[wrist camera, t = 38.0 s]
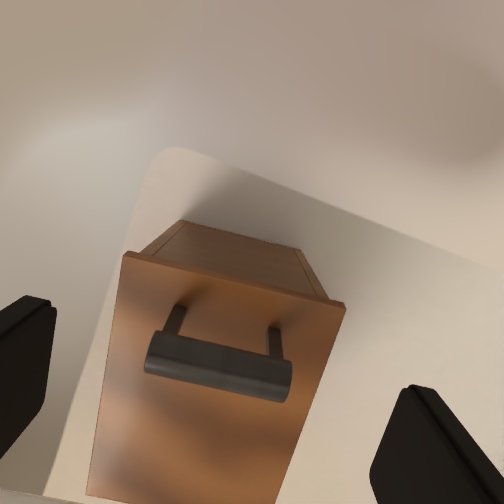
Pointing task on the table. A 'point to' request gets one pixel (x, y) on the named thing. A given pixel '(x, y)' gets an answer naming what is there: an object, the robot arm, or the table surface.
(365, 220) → the table surface
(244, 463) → the lid
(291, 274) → the bread box
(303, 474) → the table surface
